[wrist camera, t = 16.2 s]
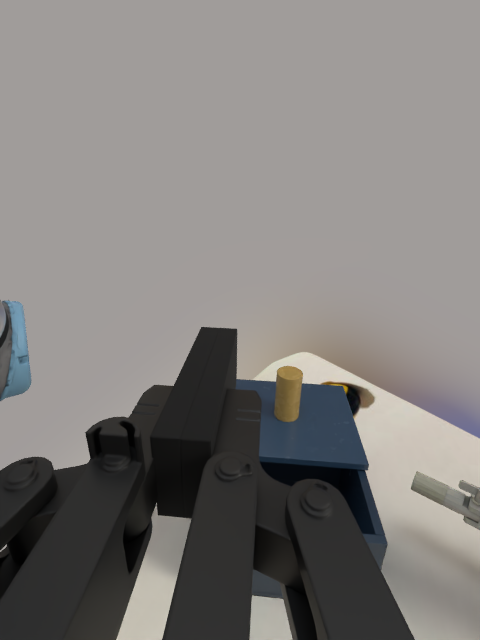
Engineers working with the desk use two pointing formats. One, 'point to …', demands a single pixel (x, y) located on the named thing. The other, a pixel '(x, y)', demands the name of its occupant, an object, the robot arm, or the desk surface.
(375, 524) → the bin
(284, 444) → the lid
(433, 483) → the microphone
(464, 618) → the desk surface
